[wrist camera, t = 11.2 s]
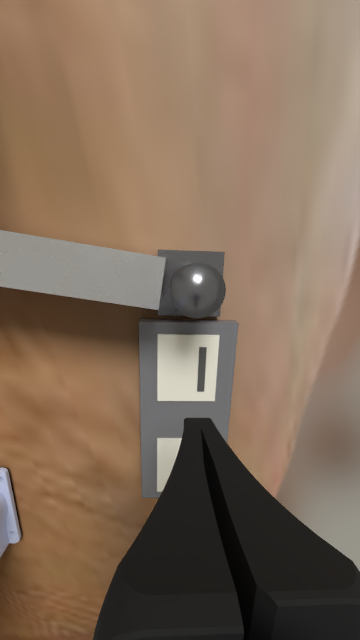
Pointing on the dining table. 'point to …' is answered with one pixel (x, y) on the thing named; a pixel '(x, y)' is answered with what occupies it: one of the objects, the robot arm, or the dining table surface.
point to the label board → (181, 387)
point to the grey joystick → (192, 283)
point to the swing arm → (81, 270)
